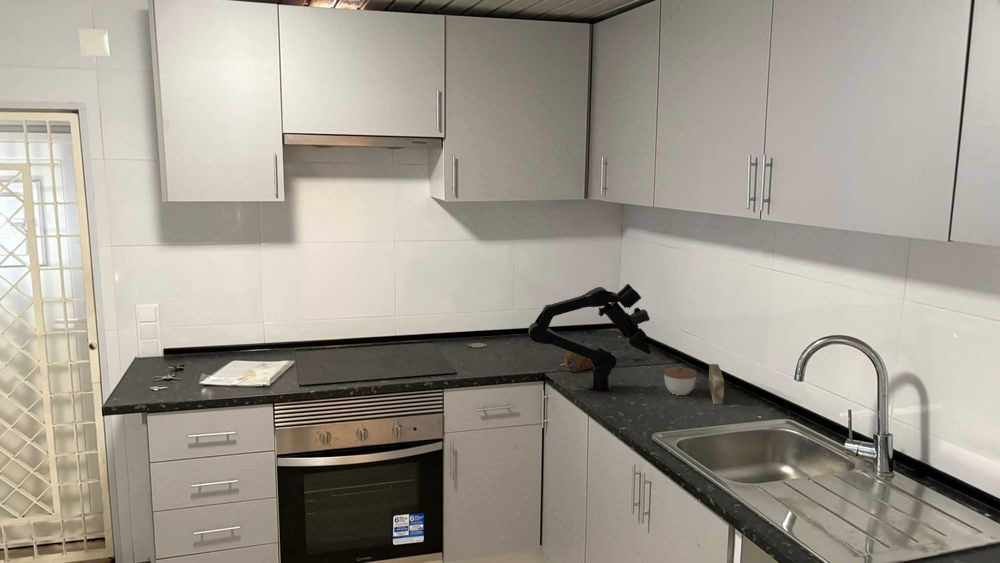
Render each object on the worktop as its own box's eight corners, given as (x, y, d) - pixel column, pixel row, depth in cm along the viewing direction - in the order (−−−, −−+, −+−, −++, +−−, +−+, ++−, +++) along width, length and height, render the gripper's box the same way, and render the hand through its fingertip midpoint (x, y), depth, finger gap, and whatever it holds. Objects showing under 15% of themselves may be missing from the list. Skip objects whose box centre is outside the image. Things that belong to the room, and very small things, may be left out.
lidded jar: (700, 397, 251) (701, 370, 250) (670, 398, 250) (671, 371, 248) (688, 387, 262) (689, 361, 260) (659, 388, 260) (659, 363, 259)
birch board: (713, 403, 244) (714, 380, 243) (708, 385, 264) (709, 363, 262) (723, 404, 244) (724, 380, 242) (717, 386, 263) (718, 364, 262)
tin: (568, 373, 279) (568, 352, 278) (562, 372, 282) (562, 350, 280) (596, 366, 289) (596, 345, 287) (590, 365, 291) (590, 344, 290)
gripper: (642, 307, 247) (671, 341, 249) (631, 296, 265) (658, 328, 268) (616, 328, 248) (646, 362, 250) (607, 317, 266) (635, 348, 269)
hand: (647, 349), depth 259 cm, fingers open, 9 cm apart
